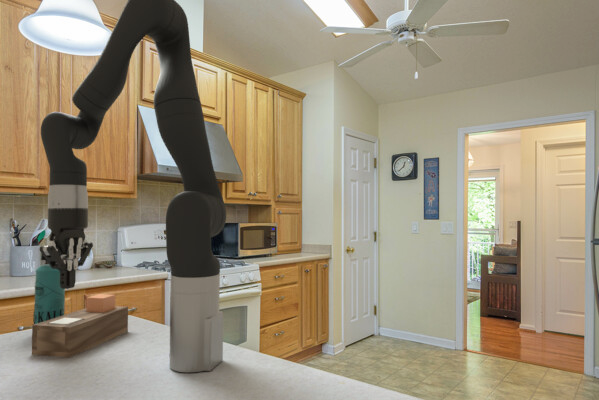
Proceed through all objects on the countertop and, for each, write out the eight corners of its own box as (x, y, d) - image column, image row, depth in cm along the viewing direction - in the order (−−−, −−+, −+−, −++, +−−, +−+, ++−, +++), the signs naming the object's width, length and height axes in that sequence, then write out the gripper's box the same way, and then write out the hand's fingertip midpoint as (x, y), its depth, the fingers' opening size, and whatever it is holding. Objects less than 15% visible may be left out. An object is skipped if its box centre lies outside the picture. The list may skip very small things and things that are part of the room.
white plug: (82, 342, 88) (82, 318, 89) (66, 348, 84) (67, 324, 84) (64, 340, 89) (65, 317, 89) (48, 347, 85) (49, 322, 85)
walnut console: (127, 331, 100) (128, 306, 101) (69, 357, 82) (70, 327, 82) (95, 329, 102) (96, 305, 102) (31, 354, 84) (32, 325, 84)
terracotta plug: (115, 315, 99) (115, 294, 99) (102, 320, 95) (103, 298, 95) (99, 314, 100) (99, 294, 100) (86, 318, 96) (86, 297, 96)
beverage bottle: (46, 329, 102) (48, 249, 102) (71, 330, 101) (73, 249, 101) (25, 337, 95) (28, 251, 96) (51, 338, 94) (53, 251, 95)
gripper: (59, 205, 81) (58, 294, 80) (104, 207, 93) (104, 283, 93) (27, 206, 82) (26, 293, 81) (75, 208, 95) (75, 282, 94)
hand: (67, 288), depth 87 cm, fingers closed
